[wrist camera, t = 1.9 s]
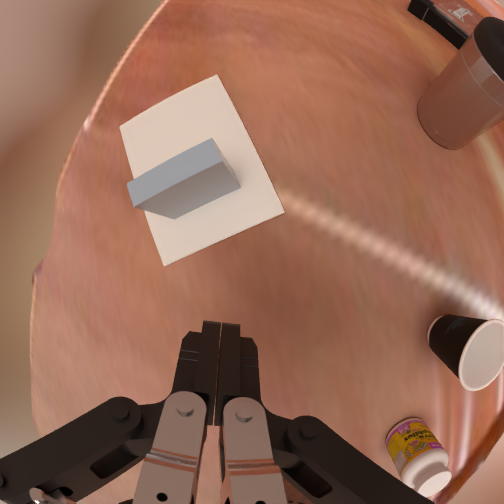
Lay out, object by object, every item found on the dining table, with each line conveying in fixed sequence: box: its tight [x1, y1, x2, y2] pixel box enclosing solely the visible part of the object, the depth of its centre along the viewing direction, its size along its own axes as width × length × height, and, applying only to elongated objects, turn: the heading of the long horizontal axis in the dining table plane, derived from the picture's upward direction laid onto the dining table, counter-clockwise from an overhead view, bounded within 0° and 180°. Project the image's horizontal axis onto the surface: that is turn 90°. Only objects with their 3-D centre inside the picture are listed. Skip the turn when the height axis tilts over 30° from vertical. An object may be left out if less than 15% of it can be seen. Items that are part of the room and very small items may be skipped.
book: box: [408, 0, 484, 50], centre depth 26 cm, size 26×18×5 cm
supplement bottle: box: [386, 418, 451, 497], centre depth 24 cm, size 7×7×13 cm
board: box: [120, 75, 285, 266], centre depth 34 cm, size 22×16×1 cm
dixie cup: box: [427, 315, 504, 391], centre depth 25 cm, size 8×8×11 cm
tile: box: [127, 138, 241, 220], centre depth 28 cm, size 2×9×10 cm, turn 114°
